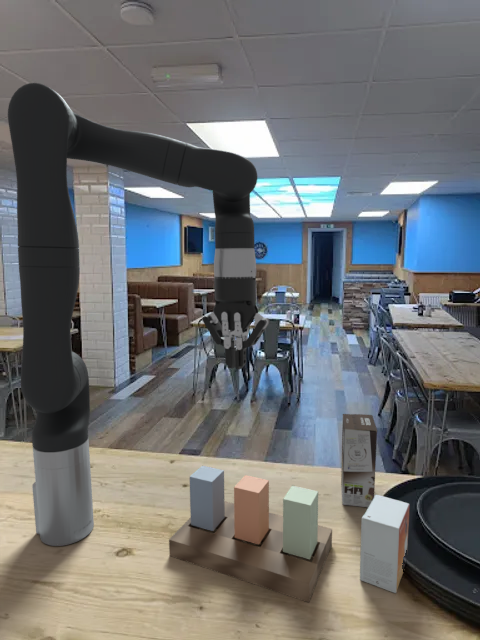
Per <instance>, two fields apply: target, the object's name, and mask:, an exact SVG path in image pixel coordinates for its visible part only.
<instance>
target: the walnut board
mask: <svg viewBox="0 0 480 640" xmlns="http://www.w3.org/2000/svg"><path fill="white" fill-rule="evenodd" d="M224 505H225V518H224V519H223V520H222V521H221V522H220V524H219V525H218V526H217V527H216V528H215V529H214V530H215V532H214V533H213V532H211V531H210V532H209V531H205V530H204V529H203V530H202V529H201V528H200V527H197V526H193V525H191V516H190V517H189V518H188V519H187V520H186V521H185V522H184V523H183V525H181V527H179V528H178V529H177V531H175V533H174V534H173V535H172V536H171V537H169V539H168V547H169V548H168V549H169V557H172V558H174V559H178V560H181V561H184V562H188V563H190V564H193V565H195V566H199V567H202V568H205V569H208V570H211V571H213V572H217V573H219V574H223V575H226V576H229V577H232V578H235V579H238V580H241V581H243V582H246V583H250V584H253V585H256V586H259V587H261V588H264V589H267V590H271V591H273V592H276V593H280V594H283V595H286V596H289V597H291V598H295V599H298V600H300V601H304V602H307V603H310V601H311V598H312V595H313V593H314V591H315V588H316V586H317V583H318V581H319V578H320V575H321V574H322V570H323V567H324V565H325V563H326V560H327V558H328V555H329V552H330V550H331V547H332V544H333V528H331V527H327V526H323V525H319V524H318V537H317V545H316V547H315V549H314V551H313V554H312V556H311V558H313V559H312V561H308V560H304V559H302V558H301V559H300V558H297V557H295V556H291V555H289V553H286V552H283V515H279V514H276V513H272V512H269V530H268V531H267V533H266V535H265V536H264V538H263V539H262V541H261V542H260V543H262V544H261V546H258V545H255V544H250V543H248V542H245V541H243V540H241V539H238V538H235V529H234V502H233V503H232V502H230V501H225V500H224Z"/></svg>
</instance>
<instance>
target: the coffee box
mask: <svg viewBox="0 0 480 640" xmlns="http://www.w3.org/2000/svg"><path fill="white" fill-rule="evenodd" d="M341 424H342V425H341V426H342V428H341V429H342V430H341V431H342V433H341V435H342V436H341V467H340V468H341V470H340V473H341V476H340V477H341V478H340V479H341V481H340V485H341V486H340V487H341V489H340V490H341V503H342V505H344V506H354V507H363V508H368V507H369V506H370V504H371V502H372V500H373V498H374V496H375V489H376V488H375V486H376V485H375V484H376V464H377V463H376V462H377V461H376V460H377V439H378V435H377V434H378V429H377V425H376V422H375V420H374V416H373V415H372V414H362V413H358V414H357V413H352V414H351V413H343V414H342V423H341Z"/></svg>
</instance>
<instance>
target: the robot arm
mask: <svg viewBox="0 0 480 640" xmlns="http://www.w3.org/2000/svg"><path fill="white" fill-rule="evenodd" d="M7 121H8V128H9V135H10V140H11V147H12V153H13V160H14V166H15V172H16V173H15V174H16V215H17V216H16V219H17V220H16V221H17V258H18V259H17V260H18V273H19V281H20V282H19V283H20V300H21V301H20V304H21V314H22V325H23V326H22V329H23V331H22V333H23V334H22V335H23V336H22V353H21V367H20V389H21V393H22V396H23V398H24V399H25V401H26V403H27V404H28V405H29V407H31V408H32V409H34V410H35V411H36V415H35V417H36V418H35V422H34V425H33V427H32V430H31V443H32V459H33V466H34V467H33V468H34V469H33V470H34V479H35V481H34V482H33V484H32V485H31V487H32V497H33V498H32V499H33V511H34V525H35V533H36V534H38V535H39V539H40V540H41V542H42V543H43V544H44V545H45V544H46V545H48V546H51V547H52V546H53V547H59V546H60V547H61V546H68V545H71V544H74V543H76V542H79V541H81V540H83V539H84V538H86V537H87V536H89V534H91V532H92V531H93V530H94V526H95V523H94V522H95V521H94V509H93V508H94V505H93V489H92V474H91V473H92V471H91V457H90V444H89V443H90V439H89V425H90V419H91V417H90V416H91V405H90V402H91V399H90V398H91V397H90V379H89V378H90V377H89V371H88V368H87V365H86V363H85V361H84V359H83V358H82V357H81V356H80V355H79V354H77V353H76V352H74V351H72V342H71V341H72V340H71V339H72V337H71V328H72V319H73V314H74V309H75V305H76V301H77V296H78V291H79V284H80V273H81V271H80V267H81V266H80V243H79V232H78V228H77V222H76V218H75V213H74V210H73V204H72V202H71V201H72V200H71V197H70V193H69V187H68V179H67V178H68V175H67V174H68V173H67V172H68V171H67V170H68V169H67V167H68V160H69V159H70V160H78V161H86V162H90V163H92V162H93V163H97V164H102V165H107V166H110V167H115V168H119V169H122V170H126V171H129V172H133V173H135V174H139V175H142V176H145V177H148V178H150V179H151V178H152V179H154V180H159V181H162V182H165V183H169V184H173V185H176V186H179V187H184V188H201V189H203V190H204V189H205V190H207V191H211V192H212V200H213V209H214V216H215V217H214V218H215V222H214V223H215V226H214V247H215V250H214V258H213V275H214V276H213V279H214V280H213V283H214V286H213V287H214V288H213V289H214V300H215V304H214V307H213V309H212V310H213V311H212V312H211V313H209V314H208V315H204V316H203V317H202V322H203V324H204V326H205V327H206V329H207V331H208V332H209V334H210V336H211V338H212V339H213V340H214V342H215V344H216V345H220V346H222V347H224V350H225V352H224V354H225V355H224V356H225V359H224V360H225V361H224V362H225V365H226V366H227V368H228V369H232V370H233V369H235V370H242V369H243V368H244V366H246V364H247V349H248V348H250V347H252V346H255V345H256V344H257V343H258V342H259V339H261V337H262V335H264V334H263V333H264V332H265V331H266V329H267V327H268V326H269V325H270V323H271V320H270V318H268V317H264V316H263V315H262V314H260V313H259V309H258V307H257V302H256V301H257V271H258V270H257V259H256V253H255V224H254V219H253V218H252V217H251V199H250V198H251V193H252V192H253V191H254V189H255V187H256V186H257V183H258V171H257V169H256V167H255V165H254V164H253V162H252V161H251V160H250V159H248V158H247V157H245V156H243V155H240V154H238V153H235V152H230V151H226V150H222V149H214V148H208V147H200V146H196V145H194V144H191V143H188V142H184V141H180V140H178V139H174V138H172V137H168V136H164V135H160V134H156V133H151V132H145V131H137V130H126V129H120V128H115V127H111V126H107V125H104V124H101V123H98V122H95V121H93V120H91V119H88V118H86V117H84V116H82V115H80V114H78V113H76V112H74V111H73V110H72V109H71V107H70V106H69V104H68V102H66V100H65V99H64V98H63V97H62V96H61V95H60V93H58V92H57V91H56V90H55V89H54V88H51V87H50V86H47V84H46V85H45V84H42V83H39V82H30V83H27V84H26V83H25V84H24V85H22V86H20V87H19V88H17V90H15V92H14V93H13V95H12V97H11V98H10V101H9V103H8V108H7ZM219 323H220V324H219ZM252 323H253V326H254V328H253V329H252V332H251V333H250V334H249V331H250V326H251V325H252ZM220 325H221V326H220Z"/></svg>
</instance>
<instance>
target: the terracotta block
mask: <svg viewBox="0 0 480 640" xmlns="http://www.w3.org/2000/svg"><path fill="white" fill-rule="evenodd" d="M233 497H234V498H233V504H234V529H235V538H238V539H241V540H242V541H244V542H247V543H252V544H254V545H257V546H258V545H260V544H261V543H262V542H261V541H262V539H263V538H264V536H265V535H266V533H267V531H268V530H269V513H270V480H269V479H264V478H260V477H255V476H251V475H247V474H245V475H244V476H243V477H242V478H241V479H240V480H239V481H238V482H237V483H236V484H235V486H234V487H233Z"/></svg>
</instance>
